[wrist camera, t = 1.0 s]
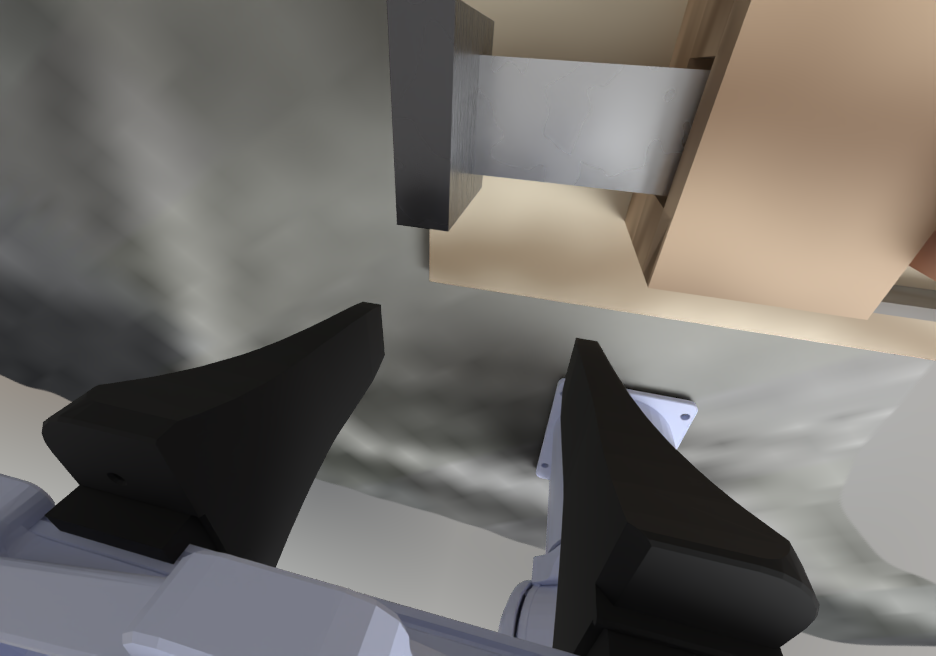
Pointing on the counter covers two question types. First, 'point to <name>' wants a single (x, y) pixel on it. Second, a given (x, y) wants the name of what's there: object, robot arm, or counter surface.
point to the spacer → (926, 258)
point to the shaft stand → (736, 173)
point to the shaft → (521, 115)
